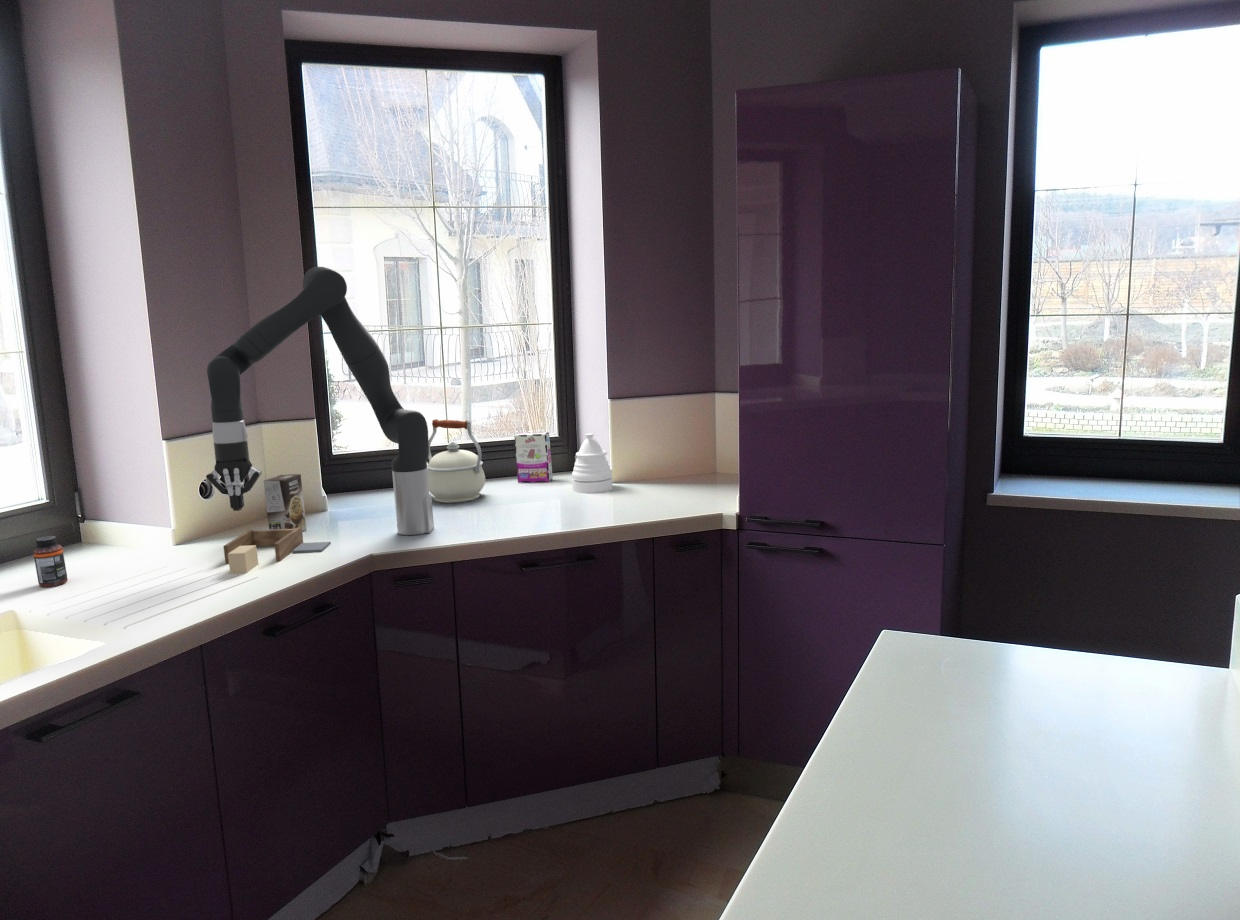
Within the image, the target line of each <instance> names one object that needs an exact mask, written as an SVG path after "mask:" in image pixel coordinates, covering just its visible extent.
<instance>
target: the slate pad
mask: <svg viewBox="0 0 1240 920" xmlns="http://www.w3.org/2000/svg"><path fill="white" fill-rule="evenodd" d="M331 544H332V543H331V541H318V542H313V541H312V542H303V543H301V544H300V545H299V546H298V547H296V548H295V549H294V550H292V552H291V554H297V553H298V554H300V553H302V554H303V553H319V552H321V553H322V552H323V551H325V549H327V548H328V547H329V546H330V545H331Z"/></svg>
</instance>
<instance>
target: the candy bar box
mask: <svg viewBox="0 0 1240 920" xmlns="http://www.w3.org/2000/svg"><path fill="white" fill-rule="evenodd" d="M550 438H551V437H550V432H548V431H547V432H546V431H544V432H521V433H520V432H519V433H516V434H515V435H514V445H515V461H516V473H517V474H516V475H517V483H521V484H522V483H526V484H527V483H550V482H551V481H552V480H553V467H552V455H551V454H552V453H551V452H552V451H551V440H550Z"/></svg>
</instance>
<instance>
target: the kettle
mask: <svg viewBox="0 0 1240 920" xmlns="http://www.w3.org/2000/svg"><path fill="white" fill-rule="evenodd" d="M431 425H432V426H431V427H432V434H431V435H430V437H429V438H428V441H429V456H428V460H429V462H427V474H428V485H429V494H431V496H432V495H433V497H434V498H433V499H434V501H436V502H438V503H445V504H451V503H452V504H453V503H454V504H456V503H457V504H458V503H465V502H470V501H474V500H476V499H479V497H480V496H481V494H480V492H481V491H482V490H483V489H484V487H485V485H486V475H485V472H484V469H483V467H482V465H483V464H484V462H483V461H482V448H481V446H480V444H479V442H478V441H477V439H476V438H475V437H474V435H473V434H472V428H471V426H472V424H471V421H470V420H465V421H463V420H454V419H453V420H452V419H444V420H443V419H441V420H439V419H437V418H436V419H432V423H431ZM438 428H442V429H456V430H459V429H464V430H466V431H467V434H468V437H469V438H470V440H471V441H472V443H473V444H474V446H475V447H476V449H477V450H476V451H477V454H476V453H474V452H472V451H470V450H466V449H459V448H460V445H459V444H458V443H456V442H454V441H452V442H451V443H449V444H448V445H447V446H446V448H447V450H445V451H444V450H443V451H441V452H439V453H436V454H435V455H433V456H432V453H431V445H432V441H433V440H434V438H435V436H436V434H437V429H438Z"/></svg>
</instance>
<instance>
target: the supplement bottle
mask: <svg viewBox="0 0 1240 920" xmlns="http://www.w3.org/2000/svg"><path fill="white" fill-rule="evenodd" d="M35 543H36V547H35V548H34V550H33V559H34V563H35V569H36V570H35V571H36V576H37V577H36V578H37V582H38V586H39V587H41V588H53V587H52V586H54V587H57V586H61V584H62V585H64V584H65V583H66V582H68V573H67V568H66V567H67V566H66V561H65V555H64V549H63V546H62V545H61V544H58V542H57V536H55V535H47V536H41V537H38V538H36V539H35Z"/></svg>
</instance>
